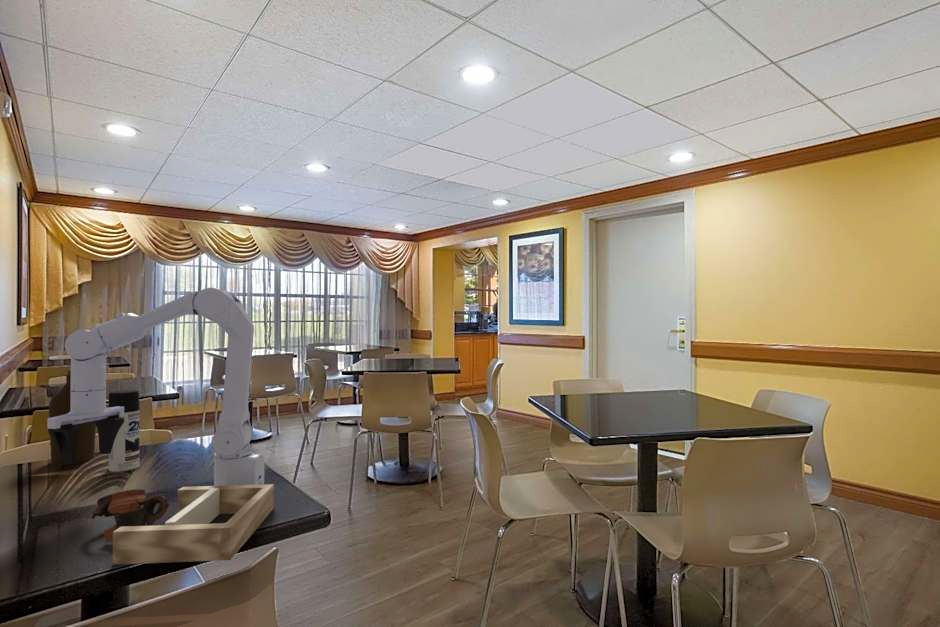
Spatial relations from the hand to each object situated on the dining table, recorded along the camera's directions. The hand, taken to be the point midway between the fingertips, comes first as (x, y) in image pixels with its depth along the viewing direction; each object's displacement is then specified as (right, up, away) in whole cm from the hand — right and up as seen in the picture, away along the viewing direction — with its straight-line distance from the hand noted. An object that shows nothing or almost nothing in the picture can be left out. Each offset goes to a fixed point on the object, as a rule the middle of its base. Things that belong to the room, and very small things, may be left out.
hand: (87, 458), depth 103 cm
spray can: (-12, -11, +29) cm, 33 cm away
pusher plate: (+28, -9, -12) cm, 32 cm away
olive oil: (-32, -12, +37) cm, 51 cm away
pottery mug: (+18, -11, -12) cm, 24 cm away
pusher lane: (+30, -10, -12) cm, 33 cm away
